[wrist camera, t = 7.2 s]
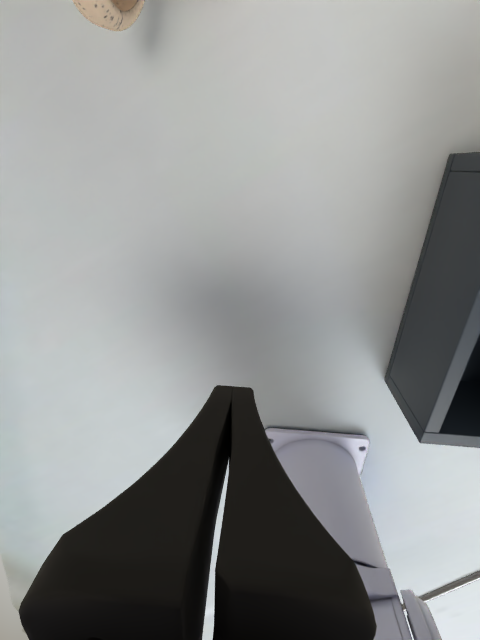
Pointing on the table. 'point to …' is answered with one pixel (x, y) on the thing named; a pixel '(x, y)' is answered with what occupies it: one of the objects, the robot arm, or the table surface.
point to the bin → (444, 318)
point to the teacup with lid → (110, 12)
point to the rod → (449, 588)
